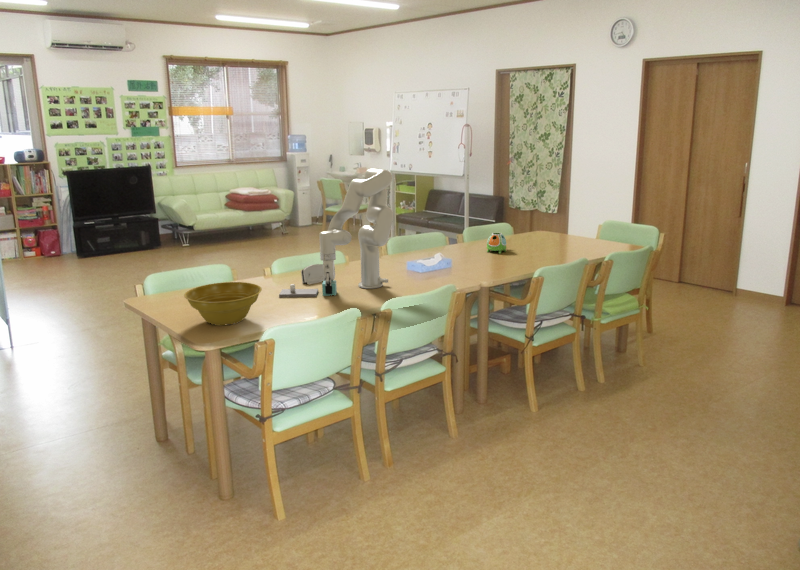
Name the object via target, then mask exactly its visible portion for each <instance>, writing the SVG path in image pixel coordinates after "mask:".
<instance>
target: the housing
mask: <svg viewBox="0 0 800 570" xmlns="http://www.w3.org/2000/svg"><path fill="white" fill-rule="evenodd" d="M329 282H330V281H329ZM321 285H322V287H321V288H322V289H321V290H322V296H323V297H324V296H326V297H327V296H330V295H331V296H332V295H334V296H336V295H337V292H338V291H337V290H338V287H337V279H336V280H335V279H334V280H332V281H331V286H332V294H326V290H325V286H326V281H323V282H321Z"/></svg>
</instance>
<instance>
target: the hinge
mask: <svg viewBox="0 0 800 570" xmlns="http://www.w3.org/2000/svg"><path fill="white" fill-rule="evenodd" d="M300 273H301V274H300V275H301V282H302V284H305V283H306V284H309V285H312V284H317V283H318V284H319V283H323V282H322V281H326V280H324V273H323V263H316V264H311V265H308V266H305V267H304V268H302V269H301V271H300Z"/></svg>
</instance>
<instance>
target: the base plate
mask: <svg viewBox="0 0 800 570" xmlns="http://www.w3.org/2000/svg"><path fill="white" fill-rule="evenodd" d="M318 293H319V288H296V284H294V283H292V284H289V288H282V289H281V291H280V292H279V295H278V298H316V297H317V296H318Z"/></svg>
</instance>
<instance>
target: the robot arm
mask: <svg viewBox="0 0 800 570" xmlns="http://www.w3.org/2000/svg"><path fill="white" fill-rule="evenodd" d="M392 181H393V175H392V173H391V172H390V171H389V170H388V169H382V168H369V169H366V171H365V173H364V178H354V179H352V180H351V181H350V183H349V186H348V188H347V191H346V194H345V197H344V199H343V203H342V206H341V207H340V208H339V210H337V211H336V213H335V214H334V215H333V216H332V217H331V220H330V222H329V226H328V227H327V230H323V231H320V232H319V234H318V235H319V236H318V238H319V257H320V261H322V264H323V273H324V280H326V286H325V290H326V294H332V286H331V281H332V280H335V278H336V267H335V265H336V264H335V260H336V259H337V258H336V256H337V255H336V246H346V245H349V244H350V243H351V241H352V238H353V237H352V234H351V232H349V231H348V230H346V229H343V226H344V224H345V223H346V222H347V220H349V219H350V218H352V217H354V216H356V215H357V214H358V213H359V212H360V211H359V210H360V207H361V205H362V203H363V201H364V198H369V201H368V205H367V208H366V213H365V218H366V220H367V221H368V222H369V223H372V224H375V225H371V224H366V225H363V226H361V227H360V228H359V230H358V232H357V236H358V243H359V248H360V250H359V251H360V278H361V279H360V282H359V283H358V285H357V286H358V287H359V288H361V289H371V290H372V289H379V288H381V287H383V285H384V284H383V283H385V284H387V283H389V278H382V277H381V274H380V249H379V247H384V246H385V245H386V244H387V243H388V241H389V238H390V236H391V231H392V227H393V223H394V211H393V210H392V208H390V207H389V206H386V205H387V200H388V190H387V188H388V187H389V186H390V185H391V183H392ZM329 281H330V282H329Z"/></svg>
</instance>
